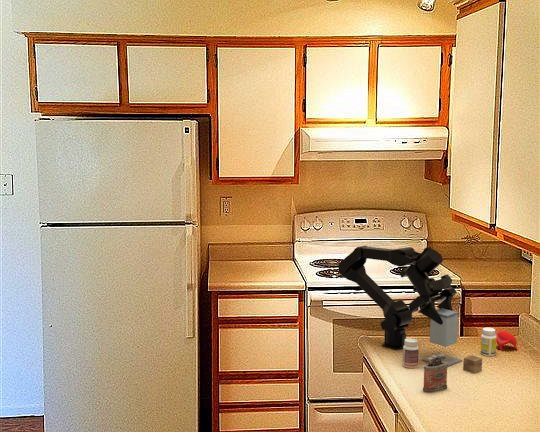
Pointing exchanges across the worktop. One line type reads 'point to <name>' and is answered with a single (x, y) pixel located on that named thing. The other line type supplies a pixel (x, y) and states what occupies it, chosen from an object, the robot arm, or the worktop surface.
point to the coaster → (449, 359)
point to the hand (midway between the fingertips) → (447, 322)
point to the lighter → (435, 374)
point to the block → (472, 364)
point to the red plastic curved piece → (505, 339)
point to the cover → (444, 328)
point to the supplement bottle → (488, 342)
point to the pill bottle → (410, 353)
